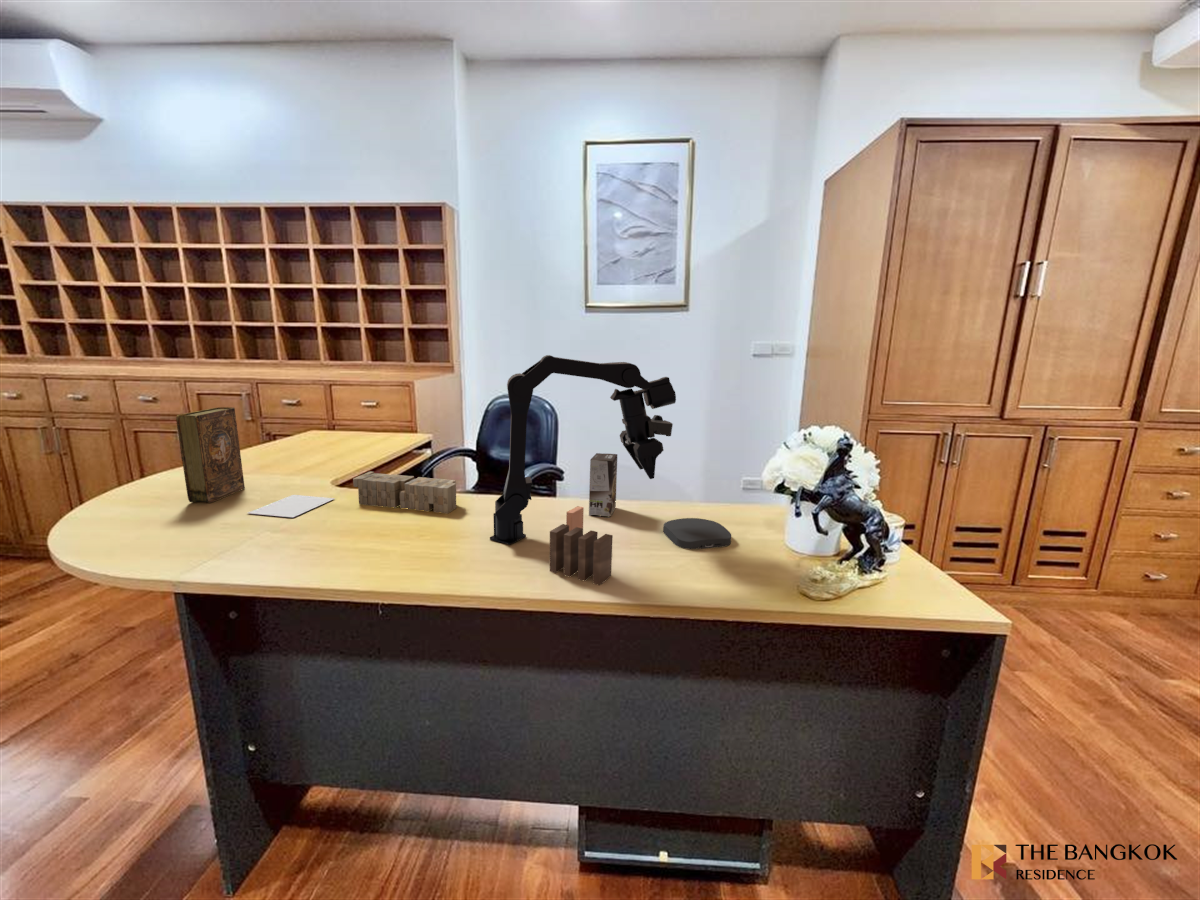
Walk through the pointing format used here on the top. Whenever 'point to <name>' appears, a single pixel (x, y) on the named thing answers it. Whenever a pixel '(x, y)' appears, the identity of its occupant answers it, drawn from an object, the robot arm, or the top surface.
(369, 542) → the top surface
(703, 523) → the media streaming box
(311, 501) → the paper stack
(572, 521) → the terracotta domino
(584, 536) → the walnut domino
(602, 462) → the coffee box
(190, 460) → the book
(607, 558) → the walnut domino
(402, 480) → the block tower
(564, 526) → the walnut domino
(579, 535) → the walnut domino
